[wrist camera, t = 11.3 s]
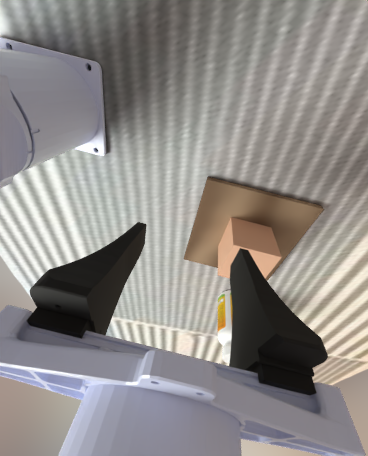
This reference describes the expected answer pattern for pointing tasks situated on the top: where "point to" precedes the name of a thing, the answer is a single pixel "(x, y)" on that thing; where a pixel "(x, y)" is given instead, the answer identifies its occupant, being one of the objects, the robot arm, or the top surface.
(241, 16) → the top surface
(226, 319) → the supplement bottle
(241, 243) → the terracotta block
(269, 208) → the walnut board
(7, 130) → the robot arm
